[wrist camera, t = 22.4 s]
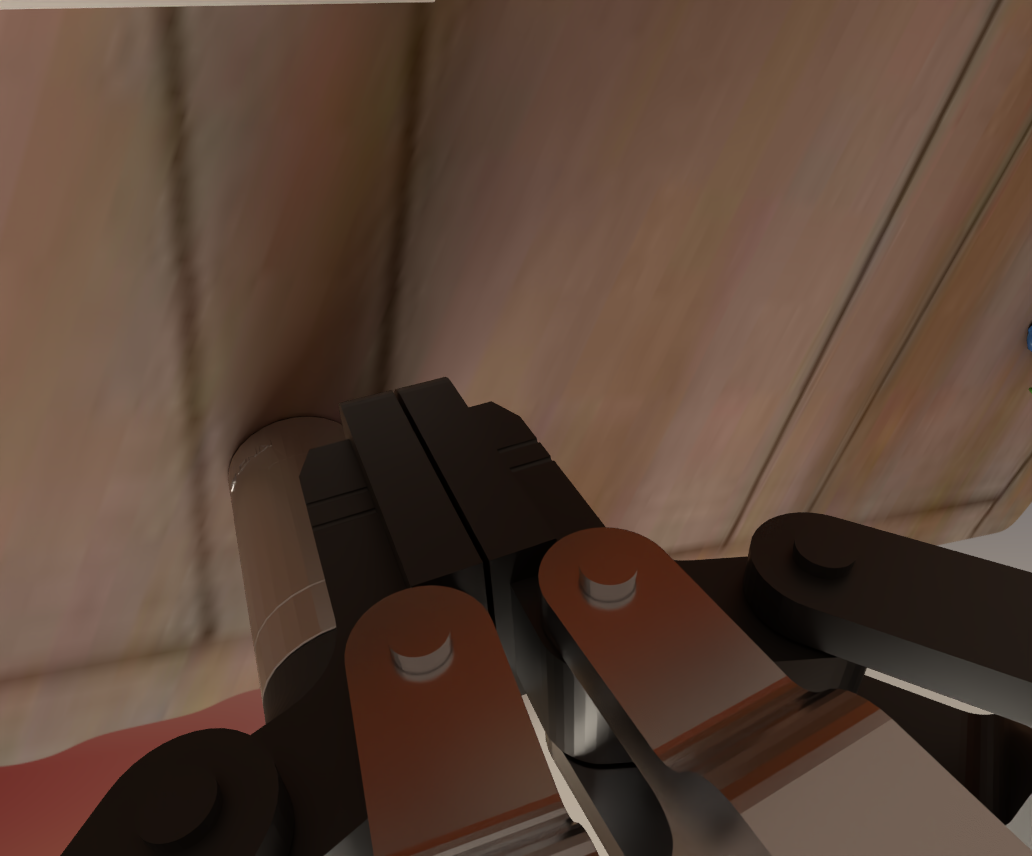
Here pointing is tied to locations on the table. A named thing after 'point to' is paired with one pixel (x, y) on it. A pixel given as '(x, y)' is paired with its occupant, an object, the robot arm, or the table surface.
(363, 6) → the table surface
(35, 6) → the panel
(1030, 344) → the snack cup
